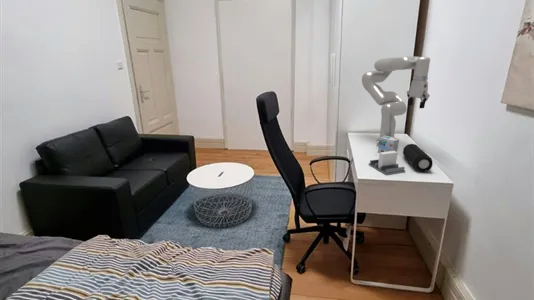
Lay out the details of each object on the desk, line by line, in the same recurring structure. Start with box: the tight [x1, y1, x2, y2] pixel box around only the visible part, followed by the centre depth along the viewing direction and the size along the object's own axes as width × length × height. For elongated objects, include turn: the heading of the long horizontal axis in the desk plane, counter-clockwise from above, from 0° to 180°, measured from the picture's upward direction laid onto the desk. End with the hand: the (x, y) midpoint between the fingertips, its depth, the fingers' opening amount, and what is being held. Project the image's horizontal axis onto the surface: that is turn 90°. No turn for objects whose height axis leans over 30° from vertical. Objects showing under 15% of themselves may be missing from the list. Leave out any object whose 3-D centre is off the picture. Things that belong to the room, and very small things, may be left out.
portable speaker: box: [402, 143, 434, 173], centre depth 176 cm, size 26×10×10 cm, turn 172°
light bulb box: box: [377, 136, 400, 154], centre depth 195 cm, size 11×7×11 cm, turn 40°
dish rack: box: [368, 158, 406, 176], centre depth 171 cm, size 16×13×3 cm
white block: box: [378, 151, 399, 168], centre depth 170 cm, size 10×3×9 cm, turn 107°
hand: (415, 106), depth 182 cm, fingers open, 9 cm apart
